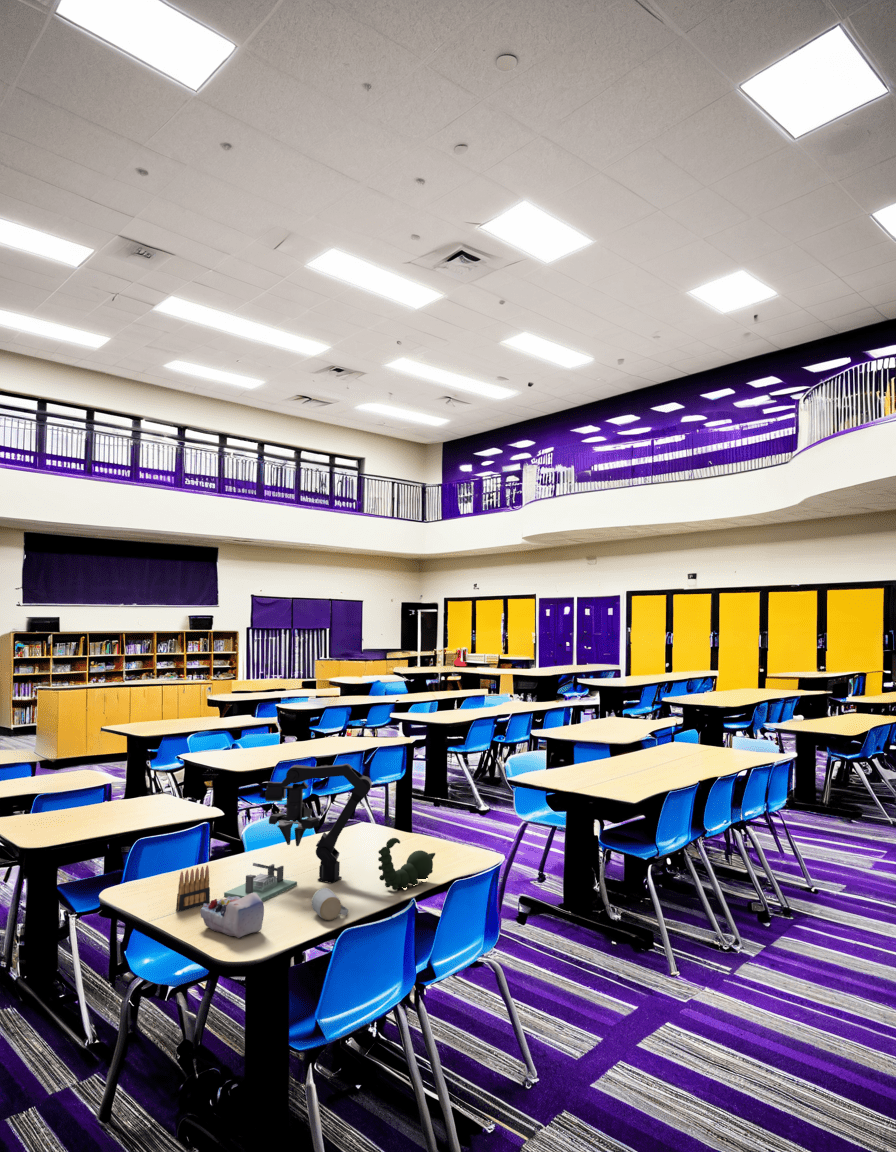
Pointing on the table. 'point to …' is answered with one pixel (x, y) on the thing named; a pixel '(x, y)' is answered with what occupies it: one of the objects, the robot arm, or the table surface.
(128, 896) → the table surface
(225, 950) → the table surface
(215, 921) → the cell model
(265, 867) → the strap
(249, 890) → the lug
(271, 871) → the pivot mount
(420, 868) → the toy figurine
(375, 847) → the table surface
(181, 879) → the ammunition clip
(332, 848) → the robot arm
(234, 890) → the board
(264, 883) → the heatsink
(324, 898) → the ceramic mug
